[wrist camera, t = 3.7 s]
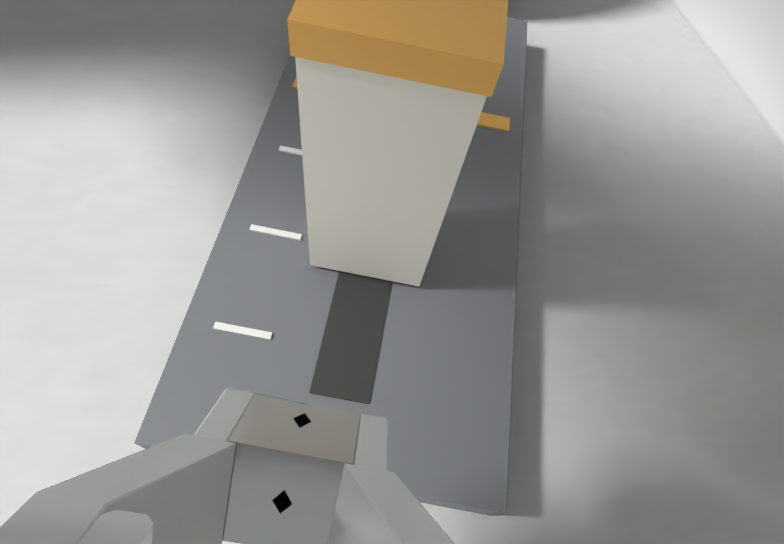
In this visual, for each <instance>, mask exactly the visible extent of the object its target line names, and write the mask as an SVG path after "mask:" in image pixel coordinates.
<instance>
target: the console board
mask: <svg viewBox="0 0 784 544" xmlns="http://www.w3.org/2000/svg"><path fill="white" fill-rule="evenodd" d="M526 42H527V21H524V20H519V19H515V18H510V17H507V27H506V40H505V53H504V64H503V67H502V70H501V73H500V75H499V78H498V81H497V84H496V86H495V89H494V92H493V94H492V97H488V96H487V98H486V100H485V103H484V106H483V109H482V112H481V115H480V117H479V120H478V123H477V126H476V129H475V131H474V134H473V137H472V140H471V143H470V145H469V148H468V151H467V154H466V157H465V159H464V162H463V165H462V168H461V171H460V174H459V176H458V179H457V182H456V185H455V188H454V190H453V193H452V196H451V199H450V202H449V204H448V207H447V210H446V213H445V216H444V218H443V221H442V224H441V227H440V230H439V233H438V235H437V238H436V241H435V244H434V247H433V249H432V252H431V255H430V258H429V261H428V263H427V266H426V269H425V272H424V275H423V278H422V280H421V283H420V286H414V285H409V284H404V283H399V282H393V281H388V280H383V279H378V278H373V277H368V276H363V275H358V274H353V273H348V272H343V271H338V270H333V269H328V268H322V267H317V266H312V265H310V259H309V244H308V230H307V216H306V202H305V188H304V174H303V159H302V145H301V131H300V117H299V103H298V89H297V74H296V60H295V57H294V56H290V58H289V60H288V63H287V65H286V68H285V70H284V73H283V75H282V78H281V80H280V83H279V85H278V87H277V90H276V92H275V95H274V97H273V100H272V102H271V105H270V107H269V110H268V112H267V115H266V117H265V120H264V122H263V125H262V127H261V130H260V132H259V135H258V137H257V140H256V142H255V145H254V147H253V150H252V152H251V155H250V157H249V159H248V162H247V164H246V167H245V169H244V172H243V174H242V177H241V179H240V182H239V184H238V187H237V189H236V192H235V194H234V197H233V199H232V202H231V204H230V207H229V209H228V212H227V214H226V217H225V219H224V222H223V224H222V227H221V229H220V232H219V234H218V236H217V239H216V241H215V244H214V246H213V249H212V251H211V254H210V256H209V259H208V261H207V264H206V266H205V269H204V271H203V274H202V276H201V279H200V281H199V284H198V286H197V289H196V291H195V294H194V296H193V299H192V301H191V304H190V306H189V309H188V311H187V313H186V316H185V318H184V321H183V323H182V326H181V328H180V331H179V333H178V336H177V338H176V341H175V343H174V346H173V348H172V351H171V353H170V356H169V358H168V361H167V363H166V366H165V368H164V371H163V373H162V376H161V378H160V381H159V383H158V385H157V388H156V390H155V393H154V395H153V398H152V400H151V403H150V405H149V408H148V410H147V413H146V415H145V418H144V420H143V423H142V425H141V428H140V430H139V433H138V435H137V438H136V440H135V444H137V445H139V446H141V447H143V448H145V449H147V448H150V447H152V446H155V445H157V444H160V443H162V442H165V441H168V440H170V439H173V438H175V437H178V436H180V435H183V434H191V435H194V433H195V432H196V431H197V429H198V428H199V426H200V425H201V423H202V422H203V421H204V419H205V418H206V416H207V415H208V414H209V412H210V411H211V409H212V408H213V406H214V405H215V404H216V402H217V401H218V399H219V398H220V396H221V395H222V394H223V392H224V391H225V390H226V389H227V388H236V389H242V390H247V391H253V392H255V393H261V394H266V395H270V396H275V397H280V398H284V399H289V400H294V401H299V402H303V403H308V404H311V405H317V406H323V407H329V408H335V409H341V410H347V411H353V412H359V413H360V415H361V413H364V414H370V415H377V416H384V417H387V418H388V449H387V471H388V472H393V473H395V474H396V475H397V476H398V477H399V479H400V480H401V481H402V482H403V483H404V484H405V486H406V487H407V488H408V489H409V490H410V492H411V493H412V494H413V495H414V496H415V498H416V499H417V500H418V501H419V502H422V503H428V504H433V505H438V506H444V507H449V508H454V509H460V510H465V511H470V512H476V513H481V514H486V515H497V514H503V513H506V504H507V481H508V458H509V435H510V412H511V389H512V366H513V343H514V320H515V296H516V273H517V250H518V227H519V204H520V181H521V158H522V135H523V112H524V89H525V65H526Z"/></svg>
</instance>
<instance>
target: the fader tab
mask: <svg viewBox="0 0 784 544" xmlns="http://www.w3.org/2000/svg"><path fill="white" fill-rule="evenodd" d="M507 14H508V0H295V2H294V5H293V7H292V9H291V12H290V14H289V16H288V18H287V23H288V36H289V48H290V56H294V57H295V60H296V74H297V89H298V103H299V117H300V131H301V145H302V159H303V174H304V188H305V202H306V216H307V230H308V244H309V259H310V265H312V266H317V267H322V268H328V269H333V270H338V271H343V272H348V273H353V274H358V275H363V276H368V277H373V278H378V279H383V280H388V281H393V282H399V283H404V284H409V285H414V286H420V283H421V280H422V278H423V275H424V272H425V269H426V266H427V263H428V261H429V258H430V255H431V252H432V249H433V247H434V244H435V241H436V238H437V235H438V233H439V230H440V227H441V224H442V221H443V218H444V216H445V213H446V210H447V207H448V204H449V202H450V199H451V196H452V193H453V190H454V188H455V185H456V182H457V179H458V176H459V174H460V171H461V168H462V165H463V162H464V159H465V157H466V154H467V151H468V148H469V145H470V143H471V140H472V137H473V134H474V131H475V129H476V126H477V123H478V120H479V117H480V115H481V112H482V109H483V106H484V103H485V100H486V98H487V96H488V97H492V94H493V92H494V89H495V86H496V84H497V81H498V78H499V75H500V73H501V70H502V67H503V64H504V53H505V40H506V27H507Z"/></svg>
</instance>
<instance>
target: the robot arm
mask: <svg viewBox="0 0 784 544" xmlns="http://www.w3.org/2000/svg"><path fill="white" fill-rule="evenodd" d="M387 449H388V418H387V417H384V416H377V415H370V414H364V413H361V415H360V413H359V412H353V411H347V410H341V409H335V408H329V407H323V406H317V405H311V404H308V403H303V402H299V401H294V400H289V399H284V398H280V397H275V396H270V395H266V394H261V393H255V392H253V391H247V390H242V389H236V388H227V389H226V390H225V391H224V392H223V394H222V395H221V396H220V398H219V399H218V401H217V402H216V404H215V405H214V406H213V408H212V409H211V411H210V412H209V414H208V415H207V416H206V418H205V419H204V421H203V422H202V423H201V425H200V426H199V428H198V429H197V431H196V432H195V433H194V435H191V434H183V435H180V436H178V437H175V438H173V439H170V440H168V441H165V442H162V443H160V444H157V445H155V446H152V447H150V448H147V449H145V450H142V451H140V452H137V453H135V454H132V455H130V456H127V457H124V458H122V459H119V460H117V461H114V462H112V463H109V464H107V465H104V466H102V467H99V468H97V469H94V470H92V471H89V472H86V473H84V474H81V475H79V476H76V477H74V478H71V479H69V480H66V481H64V482H61V483H59V484H56V485H54V486H51V487H48V488H46V489H43V490H41V491H38V492H36V493H35V494H34V495H33V496H32V497H31V498H30V499H29V500H28V501H27V502H26V503H25V504H24V505H23V506H22V507H21V508H20V509H19V510H18V511H17V512H16V513H15V514H14V515H13V516H11V517H10V518H9V519H8V520H7V521H6V522H5V523H4V524H3V525H2V526H1V527H0V544H221V543H222V541H229V542H235V543H242V544H454V543H453V541H452V540H451V539H450V538H449V537H448V535H447V534H446V533H445V532H444V531H443V530H442V528H441V527H440V526H439V525H438V524H437V522H436V521H435V520H434V519H433V518H432V516H431V515H430V514H429V513H428V512H427V511H426V509H425V508H424V507H423V506H422V505H421V503H420V502H419V501H418V500H417V499H416V498H415V496H414V495H413V494H412V493H411V492H410V490H409V489H408V488H407V487H406V486H405V484H404V483H403V482H402V481H401V480H400V479H399V477H398V476H397V475H396V474H395V473H393V472H388V471H387Z"/></svg>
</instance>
